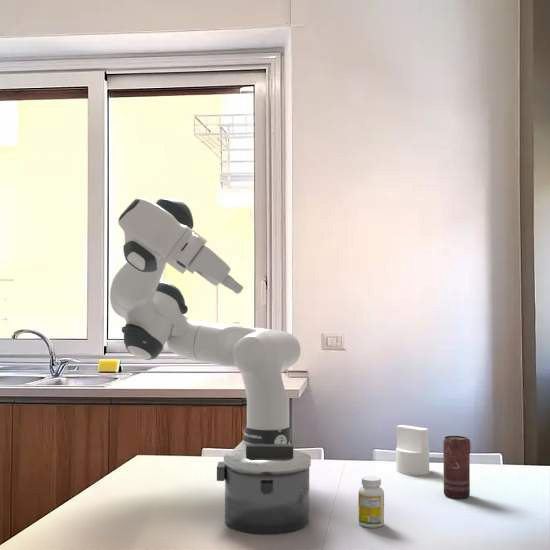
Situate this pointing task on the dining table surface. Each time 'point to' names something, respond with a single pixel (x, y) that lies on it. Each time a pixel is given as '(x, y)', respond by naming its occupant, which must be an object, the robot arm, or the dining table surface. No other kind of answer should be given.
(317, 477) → the dining table surface
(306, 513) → the cooker pot
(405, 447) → the white stacked block
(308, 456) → the cooker lid
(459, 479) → the can
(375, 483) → the supplement bottle
